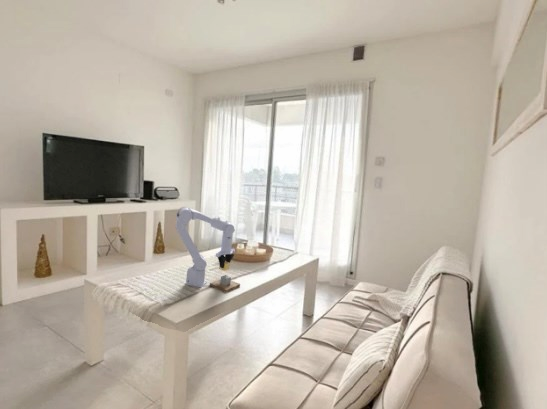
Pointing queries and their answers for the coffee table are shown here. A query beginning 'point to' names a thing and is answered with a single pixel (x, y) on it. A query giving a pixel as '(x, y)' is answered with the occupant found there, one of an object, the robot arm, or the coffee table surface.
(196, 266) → the robot arm
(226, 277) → the grey block
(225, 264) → the mustard block
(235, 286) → the walnut base
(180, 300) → the coffee table surface
